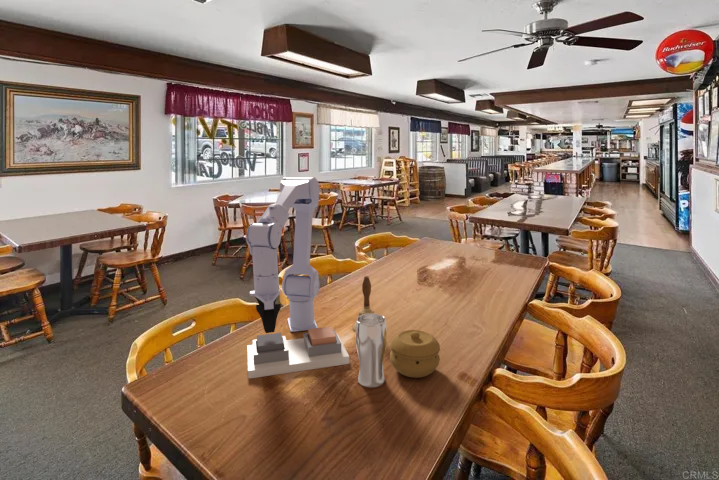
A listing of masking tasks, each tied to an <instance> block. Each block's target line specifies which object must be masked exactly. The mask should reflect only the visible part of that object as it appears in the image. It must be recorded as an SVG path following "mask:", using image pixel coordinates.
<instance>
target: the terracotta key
mask: <svg viewBox="0 0 719 480" xmlns="http://www.w3.org/2000/svg"><path fill="white" fill-rule="evenodd" d="M333 330H334V329H333V327H332V326H325V327H318V328H315V329H308V330H307V331H308V332H307V333H308V334H309V341H310V344H311V346H313V345H321V344H328V343H336V336H335V334H334V332H333Z"/></svg>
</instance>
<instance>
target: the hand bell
mask: <svg viewBox="0 0 719 480" xmlns="http://www.w3.org/2000/svg"><path fill="white" fill-rule="evenodd" d="M371 283H372V282H371V281H370V277H369V276H367V275H366V276H364V277H363V281H362V285H361V291H362V295H363V308H361V309H360V310H359V311H358V316H360V315H363V314H368V313H374V314H375V311H374V309H372V308H371V306H370V304H371V303H370V296H371V292H372V284H371ZM356 323H357V321H356V322H355V323H354V324H353V325H352V330H353V331H354V332H355V333H356Z"/></svg>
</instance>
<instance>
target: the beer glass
mask: <svg viewBox="0 0 719 480" xmlns="http://www.w3.org/2000/svg"><path fill="white" fill-rule="evenodd" d="M356 322H357V323H356ZM356 322H355V323H356V332H355V345H356V351H357V356H358V362H359V372H358V376H357V381H358V383H359V385H361V386H363V387H365V388H369V389H370V388H373V389H374V388H378V387H380V386H382V385H383V384H384V383H385V373H384V360H385V354H386V349H387V345H388V341H387V340H388V330H387V318H386V316H384V315H382V314H380V313H375V312H374V313H368V314H363V315H360V316H359V315H358V316H357V317H356Z"/></svg>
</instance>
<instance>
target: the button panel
mask: <svg viewBox="0 0 719 480" xmlns="http://www.w3.org/2000/svg"><path fill="white" fill-rule="evenodd" d="M332 330H333V332H334V334H335V336H336V343H328V344H321V345H313V346H311V344H310V341H309V334H308V332H304V333H303V337H301V338H294V339H288V340H287V337H286V335H282V340H283V348H284V349H283V350H276V351H268V352H261V353H258V346H257V338H256V339H255V338H254V339H252V344H248V345H246V347H247V349H246V350H247V377H248V380H250V379H256V378H262V377H268V376H275V375H276V376H277V375H283V374H289V373H296V372H301V371H304V372H305V371H309V370H316V369H324V368H330V367H335V366H341V365H349V364H350V355H349V353H348V351H347V349H346V347H345V345H344V344H343V341H342V340H341V338H340V336H339V334H338V333H337V332H336V330H335V329H332Z"/></svg>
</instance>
